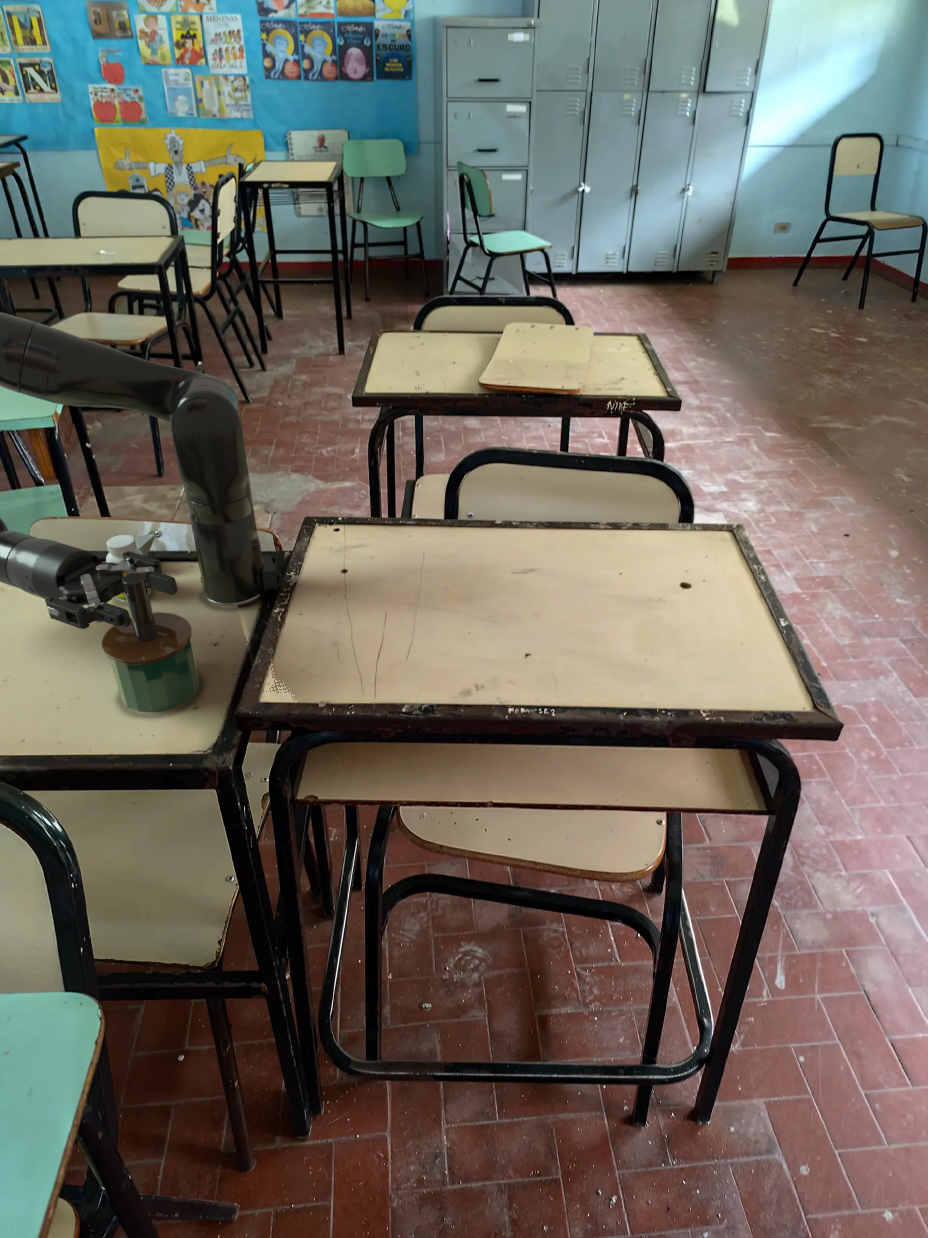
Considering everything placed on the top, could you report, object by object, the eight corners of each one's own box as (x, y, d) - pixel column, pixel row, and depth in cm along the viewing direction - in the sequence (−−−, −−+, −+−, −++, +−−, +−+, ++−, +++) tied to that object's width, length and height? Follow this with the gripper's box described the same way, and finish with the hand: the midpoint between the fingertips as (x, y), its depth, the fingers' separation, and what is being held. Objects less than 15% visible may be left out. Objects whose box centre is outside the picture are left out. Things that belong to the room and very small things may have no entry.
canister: (196, 663, 117) (186, 611, 112) (202, 706, 109) (191, 653, 105) (121, 676, 114) (107, 624, 110) (122, 721, 107) (107, 668, 102)
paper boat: (85, 559, 138) (123, 523, 143) (115, 587, 141) (151, 551, 146) (114, 544, 130) (153, 506, 135) (145, 574, 132) (182, 536, 137)
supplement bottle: (131, 583, 134) (118, 529, 129) (159, 590, 133) (147, 536, 127) (108, 600, 130) (93, 545, 125) (136, 607, 129) (122, 552, 123)
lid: (189, 613, 113) (176, 550, 108) (195, 658, 105) (182, 593, 99) (104, 627, 110) (86, 563, 105) (103, 675, 102) (84, 608, 96)
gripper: (-1, 571, 102) (100, 605, 96) (90, 522, 112) (187, 550, 106) (16, 623, 106) (115, 658, 100) (103, 571, 116) (197, 600, 111)
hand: (152, 602), depth 103 cm, fingers open, 7 cm apart
